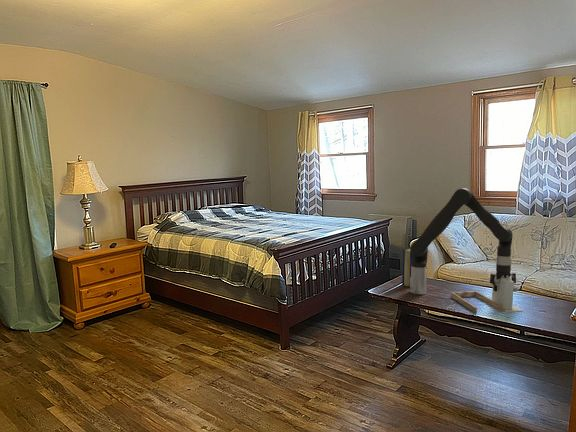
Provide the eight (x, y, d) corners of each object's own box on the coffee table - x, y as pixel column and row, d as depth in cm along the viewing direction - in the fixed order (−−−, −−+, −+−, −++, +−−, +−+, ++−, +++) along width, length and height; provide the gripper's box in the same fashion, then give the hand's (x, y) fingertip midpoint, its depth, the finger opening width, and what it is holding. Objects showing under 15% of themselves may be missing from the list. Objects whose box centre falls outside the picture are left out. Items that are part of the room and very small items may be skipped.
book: (417, 279, 309) (418, 244, 305) (427, 281, 303) (427, 245, 300) (401, 286, 294) (401, 249, 290) (411, 288, 288) (411, 250, 285)
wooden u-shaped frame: (474, 313, 239) (475, 307, 239) (451, 297, 268) (451, 292, 267) (502, 311, 240) (503, 306, 240) (476, 295, 269) (476, 291, 268)
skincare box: (513, 310, 241) (514, 281, 239) (502, 309, 242) (503, 281, 240) (501, 298, 261) (502, 272, 259) (491, 297, 262) (492, 272, 260)
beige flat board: (505, 312, 239) (505, 311, 239) (482, 298, 263) (482, 297, 263) (523, 311, 240) (523, 310, 240) (498, 297, 264) (498, 297, 264)
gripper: (511, 261, 253) (510, 288, 255) (488, 262, 252) (487, 289, 254) (519, 264, 245) (518, 292, 247) (495, 265, 244) (494, 293, 246)
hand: (502, 290), depth 250 cm, fingers open, 8 cm apart
